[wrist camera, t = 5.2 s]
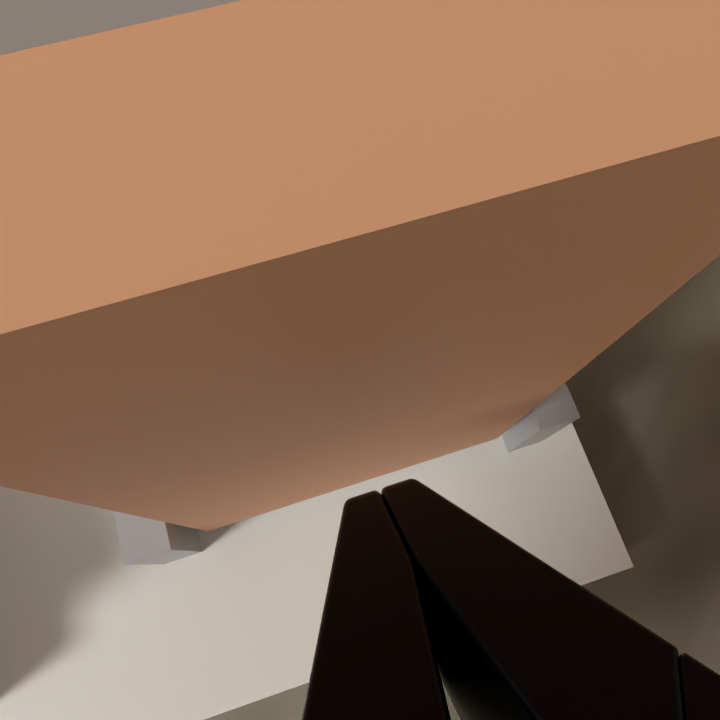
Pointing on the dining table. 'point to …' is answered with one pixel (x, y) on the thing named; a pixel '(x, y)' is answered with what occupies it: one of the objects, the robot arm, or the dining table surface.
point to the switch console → (248, 580)
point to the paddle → (333, 235)
